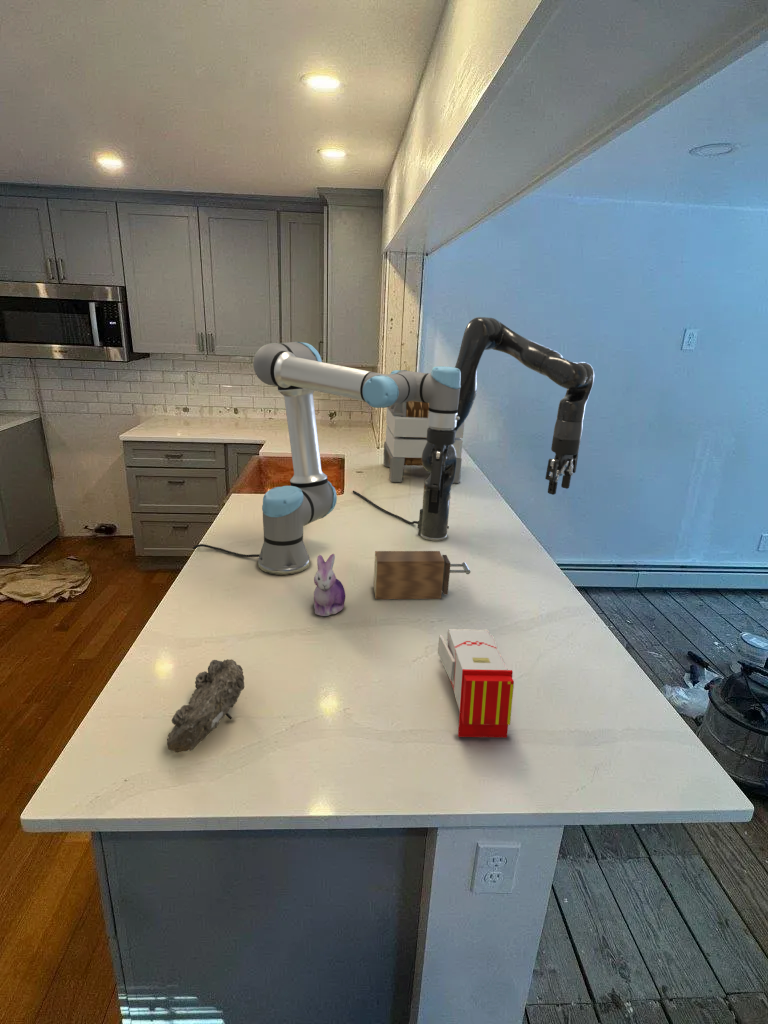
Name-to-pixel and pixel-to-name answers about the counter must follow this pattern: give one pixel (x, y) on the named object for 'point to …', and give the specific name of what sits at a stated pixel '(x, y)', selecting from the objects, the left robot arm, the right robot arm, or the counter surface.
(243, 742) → the counter surface
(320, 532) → the counter surface
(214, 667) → the fossil
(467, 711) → the toy
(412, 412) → the grey crate with legs
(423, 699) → the counter surface
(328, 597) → the figurine
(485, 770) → the counter surface
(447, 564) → the drawer
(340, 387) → the left robot arm
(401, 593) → the cabinet
